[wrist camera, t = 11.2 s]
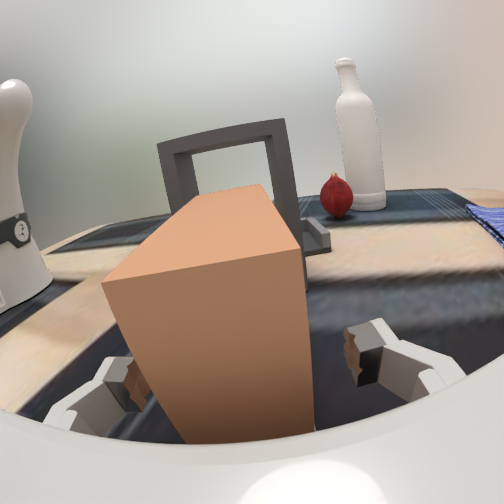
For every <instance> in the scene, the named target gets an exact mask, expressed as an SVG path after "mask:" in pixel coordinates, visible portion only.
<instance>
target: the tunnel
mask: <svg viewBox="0 0 504 504" xmlns="http://www.w3.org/2000/svg"><path fill="white" fill-rule="evenodd" d="M260 141H265V146H266V152H267V158H268V163H269V169H270V175H271V181H272V186H273V193H274V199H275V206H276V209H277V211H278V212H279V214H280V216H281V217H282V219H283V220H284V222H285V224H286V225H287V227H288V228H289V230H290V231H291V233H292V235H293V236H294V238H295V240H296V241H297V243H298V244H299V246H300V248H301V255H302V263H303V272H304V282H305V291H309V290H308V280H307V270H306V261H305V252H304V243H303V235H302V227H301V220H300V212H299V205H298V198H297V192H296V184H295V178H294V171H293V165H292V160H291V153H290V147H289V141H288V135H287V130H286V125H285V120H284V118H281V119H274V120H266V121H260V122H253V123H247V124H241V125H235V126H230V127H225V128H220V129H215V130H210V131H205V132H201V133H197V134H192V135H188V136H184V137H180V138H176V139H173V140H169V141H165V142H161V143H158V144H157V148H158V153H159V158H160V163H161V168H162V173H163V178H164V183H165V187H166V192H167V196H168V201H169V204H170V209H171V214H172V216H173V215H174V214H175V213H176V212H178V211H179V210H180V209H181V208H182V207H183V206H185V205H186V204H187V203H188V202H189V201H191V200H192V199H193V198H194V197H196V196H198V195H199V191H198V186H197V181H196V176H195V171H194V166H193V161H192V156H191V155H193V154H197V153H202V152H206V151H211V150H216V149H221V148H226V147H231V146H236V145H242V144H248V143H254V142H260Z"/></svg>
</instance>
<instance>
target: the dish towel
mask: <svg viewBox="0 0 504 504" xmlns="http://www.w3.org/2000/svg"><path fill="white" fill-rule="evenodd" d="M466 210H467V211H466V212H468V214H469V215H470V216H471V217H472V218H473V219H474V220H476V221H477V222H478V223H479V224H480V225H481V226H482V227H483V228H484V229H485V230H486V231H487V232H488V233H489V234H490V235H491V236H492V237H493V238H494V239H495V240H496V241H497V242H498V243H499V244H500V245H501V247H503V248H504V208H485V207H480V206H473V205H470V204H466Z"/></svg>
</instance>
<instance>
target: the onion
mask: <svg viewBox="0 0 504 504" xmlns="http://www.w3.org/2000/svg"><path fill="white" fill-rule="evenodd" d="M320 201H321V204H322V206H323V207H324V209H325V210H326V211H327V212H328V213H329V214H331V215H333V216H334V217H336V218H341V217H342V216H343V215H344V214H345V213H346V212H347V211H348V210H349V209H350V208H351V206H352V204H353V192H352V189H351V188H350V186H349V185H348V184H347V183H346V182H345V181H344V180H342V179H340V178H339V177H338V176H337V174H336V173H334V172H333V173H332V174H331V178H330V179H329V180H328V181H327V182H326V183H325V184H324V186H323V187H322V189H321V193H320Z"/></svg>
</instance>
